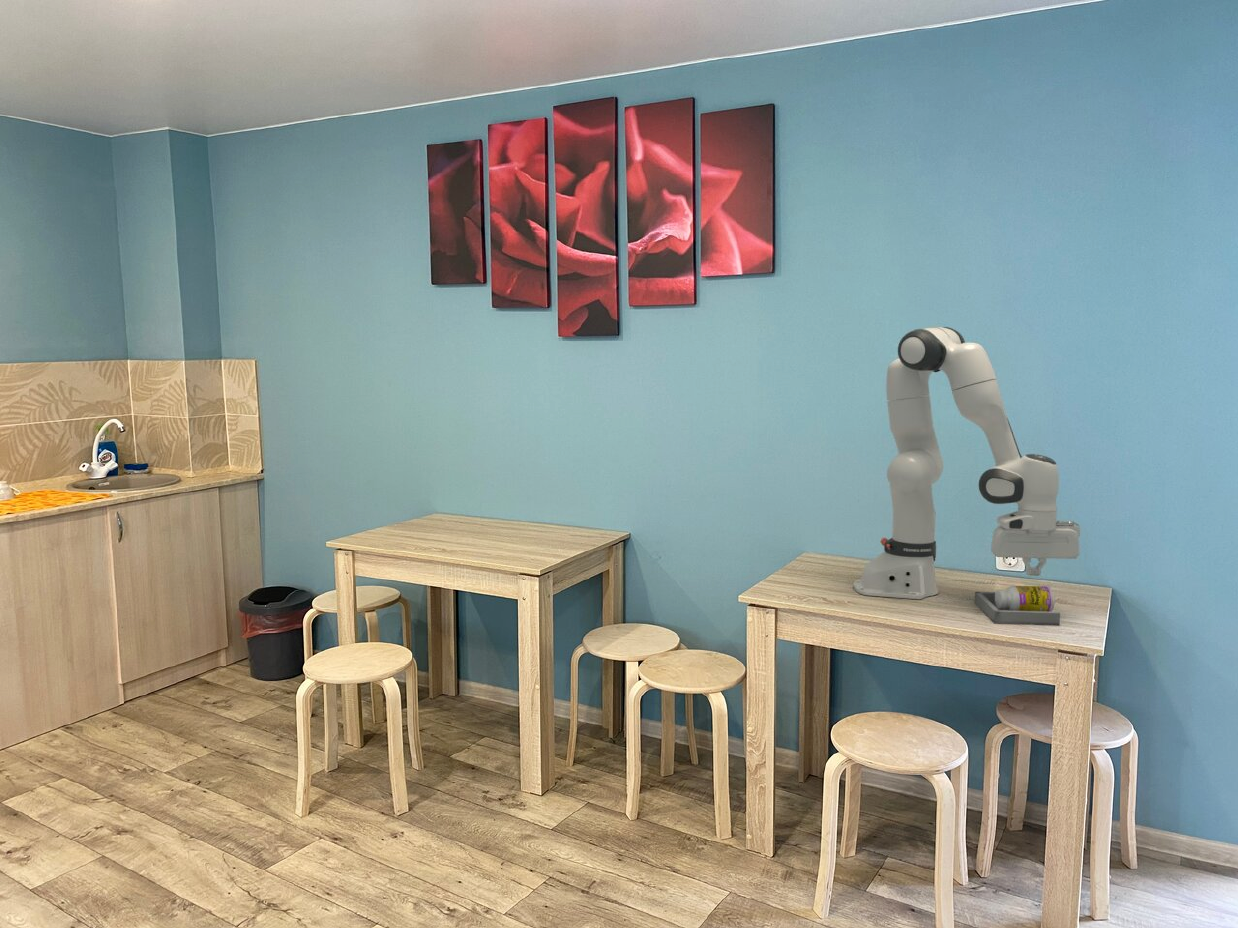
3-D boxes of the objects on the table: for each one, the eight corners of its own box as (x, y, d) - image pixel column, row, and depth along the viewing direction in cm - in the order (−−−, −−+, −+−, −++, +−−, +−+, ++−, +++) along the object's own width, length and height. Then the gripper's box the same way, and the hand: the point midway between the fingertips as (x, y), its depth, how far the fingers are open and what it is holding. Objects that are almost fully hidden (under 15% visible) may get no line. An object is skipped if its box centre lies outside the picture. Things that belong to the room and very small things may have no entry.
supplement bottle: (1058, 607, 228) (1005, 607, 228) (1047, 616, 233) (996, 616, 234) (1052, 581, 231) (1000, 582, 231) (1042, 591, 237) (991, 591, 237)
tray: (994, 623, 225) (995, 611, 225) (974, 602, 243) (975, 591, 242) (1059, 625, 223) (1060, 613, 223) (1034, 604, 241) (1035, 593, 241)
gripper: (1075, 518, 232) (1072, 573, 233) (990, 517, 234) (987, 570, 236) (1085, 523, 225) (1081, 579, 227) (998, 522, 228) (995, 577, 229)
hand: (1033, 575), depth 231 cm, fingers closed
